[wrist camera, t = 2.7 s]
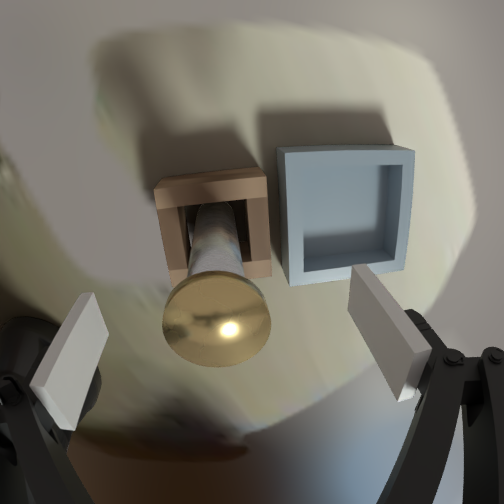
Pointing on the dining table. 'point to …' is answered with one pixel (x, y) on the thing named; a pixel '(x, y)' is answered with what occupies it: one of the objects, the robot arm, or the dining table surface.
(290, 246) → the tray
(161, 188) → the block
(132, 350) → the dining table surface
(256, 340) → the pin
